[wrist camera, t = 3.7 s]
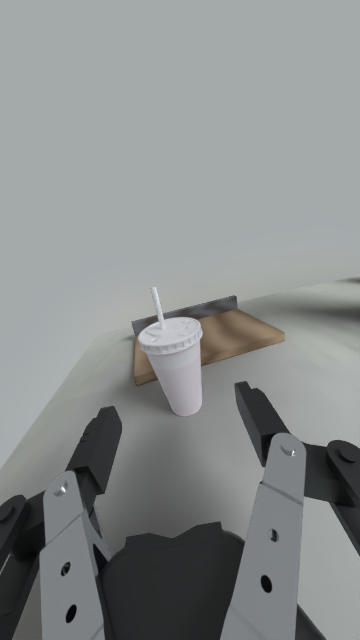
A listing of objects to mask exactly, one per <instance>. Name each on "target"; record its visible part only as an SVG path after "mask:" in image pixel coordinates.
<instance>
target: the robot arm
mask: <svg viewBox="0 0 360 640" xmlns="http://www.w3.org/2000/svg"><path fill="white" fill-rule="evenodd" d="M234 385H235V394H236V402H237V406H238V410H239V412H240V415H241V417H242V419H243V422H244V424H245V427H246V429H247V431H248V434H249V436H250V439H251V441H252V443H253V446H254V448H255V451H256V453H257V455H258V458H259V460H260V462H261V465H262V467H265V471H264V476H263V479H262V482H260V484H259V486H258V490H257V494H256V499H255V503H254V507H253V511H252V516H251V520H250V524H249V528H248V533H247V537H246V541H244V540H243V539H242V538H240V537H239V536H237V535H235V534H234V533H231V532H229V531H225V530H222V527H221V522H214V523H208V524H202V525H197V526H195V527H193V528H191V529H190V530H188V531H186V532H184V533H183V534H181V535H179V536H177V537H175V538H167V537H163V536H159V535H155V534H150V533H147V534H141V535H135V536H129V537H126V543H125V547H124V548H123V549H121V550H120V551H119V552H117V553H116V554H115V555H114V556H113V557H112V555H111V553H110V550H109V548H108V546H107V543H106V540H105V537H104V534H103V530H102V527H101V523H100V520H99V516H98V513H97V509H96V506H95V504H94V502H95V498H96V495H101V494H105V490H106V487H107V483H108V480H109V476H110V472H111V469H112V465H113V462H114V458H115V454H116V451H117V447H118V444H119V440H120V436H121V433H122V423H121V420H120V418H119V416H118V414H117V411H116V409H115V407H114V406H110V407H104V408H101V409H100V411H99V413H98V415H97V417H96V418H93V419H92V421H91V422H90V423H89V424H88V425H87V427H86V429H85V431H84V433H83V436H82V437H81V439H80V441H79V443H78V445H77V447H76V449H75V451H74V453H73V456H72V458H71V460H70V462H69V464H68V466H67V468H66V470H65V472H63V473H61V474H60V475H58V476H57V477H56V478H55V479H54V480H53V481H52V482H51V483H50V484H49V486H48V487H47V489H46V490H45V491H43V492H41V493H40V494H38V495H36V496H34V497H32V498H30V499H28V500H27V499H26V498H25V497H24V496H23V495H17V496H14V497H12V498H10V499H9V500H7V501H6V502H5V503H4V504H2V505H1V506H0V570H1V568H2V566H3V564H4V562H5V560H6V558H7V557H8V555H9V554H10V557H9V559H8V561H7V563H6V565H5V567H4V569H3V571H2V573H1V575H0V640H12V637H13V635H14V632H15V630H16V627H17V624H18V622H19V619H20V617H21V614H22V611H23V609H24V606H25V604H26V601H27V598H28V596H29V593H30V591H31V588H32V585H33V583H34V580H35V578H36V575H37V572H38V570H39V567H40V590H41V620H42V640H326V638H325V637H324V636H323V635H322V633H321V632H320V631H319V630H318V629H317V627H316V626H315V625H314V624H313V622H312V621H311V620H310V619H309V617H308V616H307V615H306V614H305V612H304V611H303V610H302V609H301V607H300V606H299V605H298V604H297V597H298V581H299V565H300V549H301V533H302V517H303V499H304V496H305V497H310V498H314V499H318V500H323V501H327V502H329V504H330V505H331V507H332V509H333V511H334V512H335V514H336V516H337V518H338V519H339V521H340V523H341V525H342V526H343V528H344V530H345V532H346V533H347V535H348V537H349V539H350V540H351V542H352V544H353V545H354V547H355V549H356V551H357V552H358V554H359V556H360V449H359V448H358V447H357V446H355V445H353V444H351V443H349V442H346V441H342V440H333V441H331V442H329V444H328V445H327V447H324V446H317V445H310V444H306V443H304V442H301V441H300V440H299V439H298V438H296V437H295V436H293V435H292V434H291V433H290V432H289V431H288V429H287V428H286V426H285V425H284V423H283V422H282V420H281V418H280V417H279V415H278V414H277V412H276V411H275V409H274V408H273V406H272V405H271V403H270V402H269V400H268V398H267V397H266V395H265V394H264V393H263V392H262V391H260V390H259V389H258V388H254V389H251V388H250V386H249V385H248V383H247V382H246V381H244V382H239V383H235V384H234Z"/></svg>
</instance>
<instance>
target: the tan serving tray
mask: <svg viewBox="0 0 360 640" xmlns="http://www.w3.org/2000/svg"><path fill="white" fill-rule="evenodd" d="M163 317H164V320H166V319H170V318H177V317H188V318H193V319H196V320H197V321H199V322H200V324H201V329H202V332H203V334H202V337H201V339H200V358H201V366H203V365H206V364H209V363H213V362H216V361H219V360H223V359H226V358H229V357H232V356H236V355H239V354H242V353H246V352H249V351H252V350H255V349H259V348H262V347H265V346H269V345H272V344H275V343H279V342H282V341H284V332H283V331H281V330H279V329H277V328H275V327H273V326H271V325H269V324H267V323H265V322H263V321H261V320H259V319H257V318H255V317H253V316H251V315H249V314H247V313H245V312H243V311H241V310H239V309H237V297H236V296H230V297H226V298H222V299H219V300H215V301H210V302H207V303H203V304H199V305H195V306H191V307H187V308H183V309H179V310H175V311H171V312H167V313H164V314H163ZM156 322H159V320H158V317H157V315H156V316H152V317H148V318H144V319H140V320H136V321H132V326H133V329H134V333H135V336H136V339H135V362H134V379H135V382H136V385H140V384H143V383H147V382H150V381H153V380H157V379H158V378H157V376H156V373H155V371H154V369H153V367H152V365H151V363H150V361H149V358H148V356H147V354H146V353H145V352H143V351H142V350H141V349H140V343H139V340H138V336H139V334H140V333H141V332H142V330H144V329H145V328H146V327H148V326H150V325H152V324H154V323H156Z"/></svg>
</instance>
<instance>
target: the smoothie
mask: <svg viewBox="0 0 360 640" xmlns="http://www.w3.org/2000/svg"><path fill="white" fill-rule="evenodd" d="M150 289H151V293H152V297H153V301H154V304H155V309H156V312H157V317H158V320H159V322H156V323H154V324H152V325H150V326H148V327H146V328H145V329H144V330H142V332H141V333H140V334H139V336H138V340H139V343H140V349H141V350H142V351H143V352H145V353H146V354H147V356H148V358H149V361H150V363H151V365H152V367H153V369H154V371H155V373H156V376H157V378H158V380H159V382H160V384H161V387H162V389H163V391H164V393H165V395H166V397H167V400H168V402H169V404H170V406H171V408H172V410H173V412H174V413H175V414H177V415H179V416H191V415H193V414H195V413H196V412H198V411H199V409H200V408H201V406H202V382H201V358H200V339H201V337H202V334H203V332H202V329H201V324H200V322H199V321H197V320H196V319H193V318H188V317H177V318H170V319H166V320H164V317H163V313H162V309H161V305H160V301H159V296H158V293H157V288H156V286H154V287H151V288H150Z"/></svg>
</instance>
